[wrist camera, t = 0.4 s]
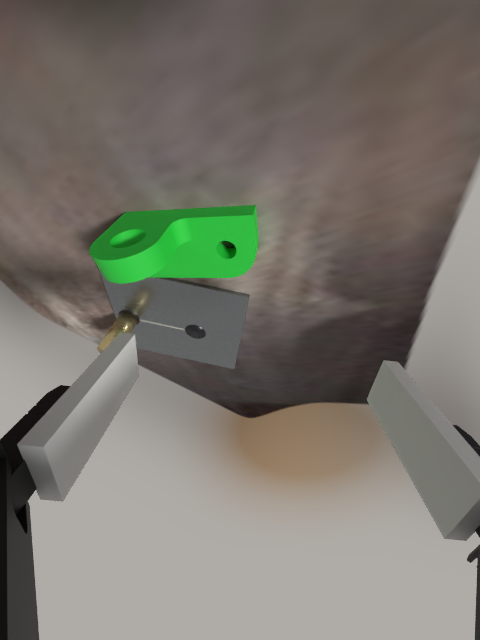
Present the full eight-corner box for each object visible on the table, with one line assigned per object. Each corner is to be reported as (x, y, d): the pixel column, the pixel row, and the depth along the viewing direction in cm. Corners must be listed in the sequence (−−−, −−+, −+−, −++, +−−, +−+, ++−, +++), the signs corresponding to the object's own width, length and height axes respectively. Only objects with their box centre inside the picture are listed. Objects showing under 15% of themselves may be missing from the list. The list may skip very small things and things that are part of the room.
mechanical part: (150, 266, 28) (113, 319, 22) (126, 211, 24) (73, 260, 18) (260, 265, 25) (249, 325, 20) (256, 204, 21) (239, 259, 16)
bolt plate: (99, 263, 28) (65, 299, 24) (249, 294, 28) (240, 337, 24) (126, 343, 40) (106, 377, 36) (234, 366, 39) (226, 403, 35)
